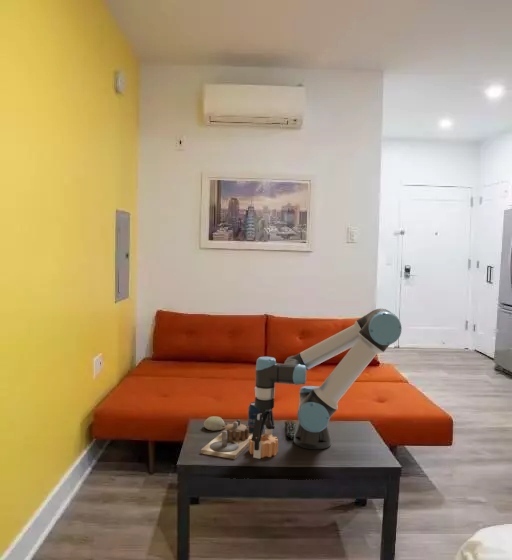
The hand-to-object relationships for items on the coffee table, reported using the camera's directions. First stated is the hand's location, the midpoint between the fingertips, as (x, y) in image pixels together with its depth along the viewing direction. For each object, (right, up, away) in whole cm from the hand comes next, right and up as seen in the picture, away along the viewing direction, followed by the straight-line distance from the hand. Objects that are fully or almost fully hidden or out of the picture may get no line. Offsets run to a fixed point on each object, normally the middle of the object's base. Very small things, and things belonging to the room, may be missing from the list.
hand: (262, 451), depth 192 cm
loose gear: (0, 0, 0) cm, 0 cm away
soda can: (-3, +1, +23) cm, 23 cm away
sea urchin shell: (-21, +1, +25) cm, 33 cm away
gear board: (-13, 0, +6) cm, 14 cm away
